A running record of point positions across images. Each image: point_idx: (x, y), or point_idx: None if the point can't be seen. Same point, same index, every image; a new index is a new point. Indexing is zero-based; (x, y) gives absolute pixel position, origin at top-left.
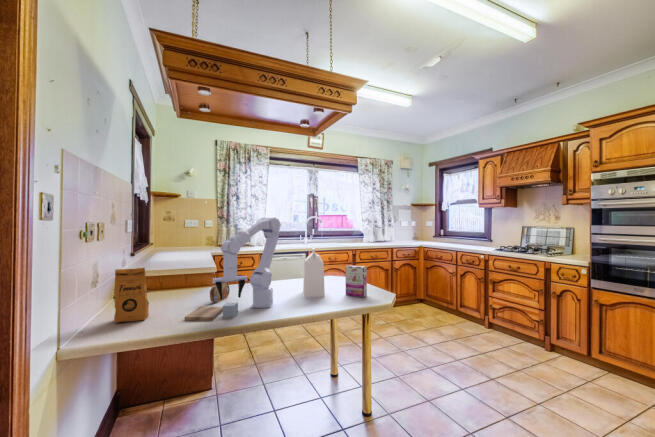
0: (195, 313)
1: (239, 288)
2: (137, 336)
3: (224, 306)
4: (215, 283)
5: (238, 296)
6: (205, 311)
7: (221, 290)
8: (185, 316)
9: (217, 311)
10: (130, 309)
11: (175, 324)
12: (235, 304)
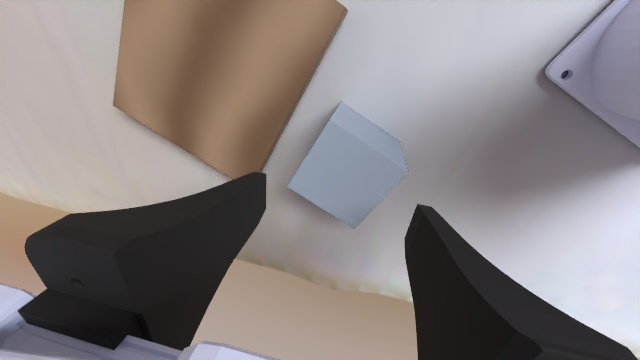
0: (152, 68)
1: (417, 337)
2: (37, 183)
3: (298, 190)
4: (58, 278)
5: (413, 220)
6: (205, 57)
7: (216, 282)
8: (114, 98)
9: (277, 105)
10: None
11: (108, 134)
12: (372, 206)
